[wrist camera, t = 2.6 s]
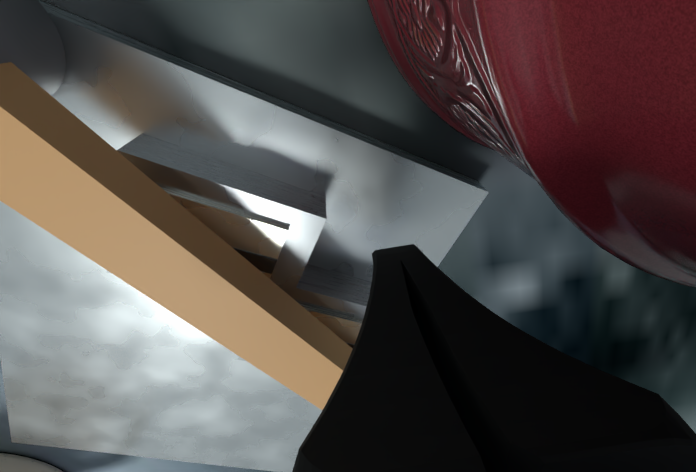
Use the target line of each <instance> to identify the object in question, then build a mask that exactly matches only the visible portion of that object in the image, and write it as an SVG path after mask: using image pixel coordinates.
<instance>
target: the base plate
mask: <svg viewBox="0 0 696 472" xmlns="http://www.w3.org/2000/svg"><path fill="white" fill-rule="evenodd" d="M38 1H39V2H40V4H41V5H42V6H43V7H44V8H45V10H46V11H47V13H48V14H49V16H50V17H51V19H52V21H53V22H54V24H55V26H56V28H57V30H58V32H59V34H60V37H61V40H62V43H63V46H64V50H65V55H66V71H65V75H64V79H63V81H62V84H61V86H60V87H59V88H58V90H57V91H56V92H55V93H54V94H53V95H51V96H52V97H53V98H55V99H56V100H57V101H58V102H59V103H61V104H62V105H63V106H64V107H65V108H67V109H68V110H69V111H70V112H71V113H72V114H74V115H75V116H76V117H77V118H78V119H80V120H81V121H82V122H83V123H84V124H86V125H87V126H88V127H89V128H90V129H92V130H93V131H94V132H95V133H96V134H97V135H99V136H100V137H101V138H102V139H103V140H105V141H106V142H107V143H108V144H109V145H111V146H112V147H113V148H114V149H115V150H117V151H118V152H119V153H120V154H121V155H123V156H124V157H125V158H126V159H127V160H128V161H130V162H131V163H132V164H133V165H134V166H136V167H137V168H138V169H139V170H140V171H142V172H143V173H144V174H145V175H146V176H148V177H149V178H150V179H151V180H152V181H154V182H155V183H156V184H157V185H158V186H159V187H161V188H162V189H163V190H164V191H165V192H167V193H168V194H169V195H170V196H171V197H173V198H174V199H175V200H176V201H177V202H179V203H180V204H181V205H182V206H183V207H185V208H186V209H187V210H188V211H189V212H190V213H192V214H193V215H194V216H195V217H196V218H198V219H199V220H200V221H201V222H202V223H204V224H205V225H206V226H207V227H208V228H210V229H211V230H212V231H213V232H214V233H215V234H217V235H218V236H219V237H220V238H221V239H223V240H224V241H225V242H226V243H227V244H229V245H230V246H231V247H232V248H233V249H235V250H236V251H237V252H238V253H239V254H241V255H242V256H243V257H244V258H245V259H246V260H248V261H249V262H250V263H251V264H252V265H254V266H255V267H256V268H257V269H258V270H260V271H261V272H262V273H263V274H264V275H266V276H267V277H268V278H269V279H270V280H272V281H273V282H274V283H275V284H276V285H277V286H279V287H280V288H281V289H282V290H283V291H285V292H286V293H287V294H288V295H289V296H291V297H292V298H293V299H294V300H295V301H297V302H298V303H299V304H300V305H301V306H302V307H304V308H305V309H306V310H307V311H308V312H310V313H311V314H312V315H313V316H314V317H316V318H317V319H318V320H319V321H320V322H322V323H323V324H324V325H325V326H326V327H328V328H329V329H330V330H331V331H332V332H333V333H335V334H336V335H337V336H338V337H339V338H341V339H342V340H343V341H344V342H345V343H347V344H348V345H349V346H350V347H351V348H353V347H354V344H355V342H356V339H357V336H358V334H359V331H360V328H361V325H362V321H363V318H364V314H365V311H366V307H367V303H368V299H369V294H370V288H371V283H372V275H373V259H372V253H373V252H374V251H375V250H379V249H385V248H391V247H398V246H404V245H410V244H414V245H415V246H417V247H418V248H419V249H420V250H421V251H422V252H423V253H424V255H425V256H426V257H427V258H428V259H429V260H430V261H431V262H432V263H434V264H435V265H436V266H437V267H438V266H439V264H440V263H441V261H442V260H443V258H444V257H445V255H446V254H447V252H448V251H449V250H450V248H451V247H452V245H453V244H454V242H455V241H456V239H457V238H458V236H459V235H460V233H461V232H462V231H463V229H464V228H465V226H466V225H467V223H468V222H469V220H470V219H471V217H472V216H473V215H474V213H475V212H476V210H477V209H478V207H479V206H480V204H481V203H482V201H483V200H484V198H485V197H486V196H487V194H488V193H489V192H488V191H487V190H486V189H485V188H484V187H483V186H482V185H481V184H480V183H479V182H478V181H476V180H474V179H471V178H469V177H466V176H464V175H461V174H459V173H457V172H454V171H452V170H449V169H447V168H445V167H442V166H440V165H437V164H435V163H432V162H430V161H428V160H425V159H423V158H420V157H418V156H415V155H413V154H411V153H408V152H406V151H403V150H401V149H399V148H396V147H394V146H391V145H389V144H386V143H384V142H382V141H379V140H377V139H374V138H372V137H370V136H367V135H365V134H362V133H360V132H357V131H355V130H353V129H350V128H348V127H345V126H343V125H341V124H338V123H336V122H333V121H331V120H328V119H326V118H324V117H321V116H319V115H316V114H314V113H311V112H309V111H307V110H304V109H302V108H299V107H297V106H295V105H292V104H290V103H287V102H285V101H282V100H280V99H278V98H275V97H273V96H270V95H268V94H266V93H263V92H261V91H258V90H256V89H253V88H251V87H249V86H246V85H244V84H241V83H239V82H237V81H234V80H232V79H229V78H227V77H224V76H222V75H220V74H217V73H215V72H212V71H210V70H208V69H205V68H203V67H200V66H198V65H195V64H193V63H191V62H188V61H186V60H183V59H181V58H178V57H176V56H174V55H171V54H169V53H166V52H164V51H162V50H159V49H157V48H154V47H152V46H149V45H147V44H145V43H142V42H140V41H137V40H135V39H133V38H130V37H128V36H125V35H123V34H120V33H118V32H116V31H113V30H111V29H108V28H106V27H104V26H101V25H99V24H96V23H94V22H91V21H89V20H87V19H84V18H82V17H79V16H77V15H74V14H72V13H70V12H67V11H65V10H62V9H60V8H58V7H55V6H53V5H50V4H48V3H45V2H43V1H41V0H38ZM0 358H1V365H2V373H3V381H4V388H5V396H6V403H7V411H8V419H9V426H10V434H11V442H12V443H21V444H30V445H39V446H48V447H57V448H66V449H75V450H84V451H93V452H102V453H112V454H121V455H130V456H139V457H148V458H157V459H166V460H175V461H184V462H193V463H202V464H212V465H221V466H230V467H239V468H248V469H257V470H266V471H275V472H292V471H293V467H294V464H295V460H296V457H297V454H298V450H299V448H300V446H301V444H302V443H303V441H304V440H305V438H306V436H307V435H308V433H309V432H310V430H311V428H312V427H313V425H314V423H315V422H316V420H317V419H318V417H319V415H320V414H321V412H322V410H321V409H319V408H318V407H316V406H315V405H313V404H312V403H310V402H309V401H307V400H306V399H304V398H303V397H301V396H299V395H298V394H296V393H295V392H293V391H292V390H290V389H289V388H287V387H286V386H284V385H283V384H281V383H280V382H278V381H276V380H275V379H273V378H272V377H270V376H269V375H267V374H266V373H264V372H263V371H261V370H260V369H258V368H256V367H255V366H253V365H252V364H250V363H249V362H247V361H246V360H244V359H243V358H241V357H240V356H238V355H236V354H235V353H233V352H232V351H230V350H229V349H227V348H226V347H224V346H223V345H221V344H220V343H218V342H216V341H215V340H213V339H212V338H210V337H209V336H207V335H206V334H204V333H203V332H201V331H200V330H198V329H197V328H195V327H193V326H192V325H190V324H189V323H187V322H186V321H184V320H183V319H181V318H180V317H178V316H177V315H175V314H173V313H172V312H170V311H169V310H167V309H166V308H164V307H163V306H161V305H160V304H158V303H157V302H155V301H153V300H152V299H150V298H149V297H147V296H146V295H144V294H143V293H141V292H140V291H138V290H137V289H135V288H134V287H132V286H130V285H129V284H127V283H126V282H124V281H123V280H121V279H120V278H118V277H117V276H115V275H114V274H112V273H110V272H109V271H107V270H106V269H104V268H103V267H101V266H100V265H98V264H97V263H95V262H94V261H92V260H90V259H89V258H87V257H86V256H84V255H83V254H81V253H80V252H78V251H77V250H75V249H74V248H72V247H71V246H69V245H67V244H66V243H64V242H63V241H61V240H60V239H58V238H57V237H55V236H54V235H52V234H51V233H49V232H47V231H46V230H44V229H43V228H41V227H40V226H38V225H37V224H35V223H34V222H32V221H31V220H29V219H27V218H26V217H24V216H23V215H21V214H20V213H18V212H17V211H15V210H14V209H12V208H11V207H9V206H8V205H6V204H4V203H3V202H1V201H0Z"/></svg>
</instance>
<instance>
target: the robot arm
mask: <svg viewBox="0 0 696 472" xmlns="http://www.w3.org/2000/svg"><path fill="white" fill-rule="evenodd" d="M372 259H373V275H372V283H371V288H370V294H369V299H368V303H367V307H366V311H365V314H364V318H363V321H362V325H361V328H360V331H359V334H358V336H357V339H356V342H355V344H354V347H353V349H352V352H351V354H350V357H349V359H348V361H347V364H346V366H345V368H344V370H343V372H342V374H341V377H340V379H339V380H338V382H337V384H336V386H335V388H334V390H333V392H332V394H331V396H330V398H329V399H328V401H327V403H326V405H325V407H324V409H323V410H322V412H321V414H320V415H319V417H318V419H317V420H316V422H315V423H314V425H313V427H312V428H311V430H310V432H309V433H308V435H307V436H306V438H305V440H304V441H303V443H302V444H301V446H300V448H299V450H298V454H297V457H296V460H295V464H294V467H293V471H292V472H696V434H695V432H694V431H693V430H692V429H691V428H690V427H689V426H688V424H687V423H686V422H685V421H684V420H683V419H682V418H681V416H680V415H679V414H678V413H677V412H676V411H675V410H674V409H673V408H672V407H671V406H670V405H669V404H668V403H667V402H666V401H665V400H664V399H663V398H662V397H661V396H660V395H659V394H656V393H654V392H652V391H649V390H647V389H644V388H642V387H639V386H637V385H635V384H632V383H630V382H627V381H625V380H622V379H620V378H618V377H615V376H613V375H610V374H608V373H605V372H603V371H601V370H598V369H596V368H594V367H592V366H590V365H588V364H585V363H583V362H581V361H579V360H577V359H575V358H573V357H571V356H568V355H566V354H564V353H562V352H560V351H558V350H557V349H555V348H553V347H551V346H549V345H547V344H545V343H543V342H542V341H540V340H538V339H536V338H534V337H532V336H531V335H529V334H527V333H525V332H523V331H522V330H520V329H518V328H517V327H515V326H513V325H512V324H510V323H508V322H507V321H505V320H504V319H502V318H501V317H499V316H498V315H496V314H495V313H493V312H492V311H490V310H489V309H488V308H486V307H485V306H483V305H482V304H481V303H479V302H478V301H477V300H475V299H474V298H473V297H472V296H470V295H469V294H468V293H466V292H465V291H464V290H463V289H462V288H460V287H459V286H458V285H457V284H456V283H454V282H453V281H452V280H451V279H450V278H449V277H448V276H446V275H445V274H444V273H443V272H442V271H441V270H440V269H439V268H438V267H437V266H436V265H435V264H434V263H432V262H431V261H430V260H429V259H428V258H427V257H426V256H425V255H424V253H423V252H422V251H421V250H420V249H419V248H418V247H417V246H415V245H414V244H410V245H404V246H398V247H391V248H385V249H379V250H375V251H374V252H373V253H372Z"/></svg>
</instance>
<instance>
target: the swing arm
mask: <svg viewBox="0 0 696 472" xmlns="http://www.w3.org/2000/svg"><path fill="white" fill-rule="evenodd" d="M65 71H66V55H65V50H64V46H63V43H62V40H61V37H60V34H59V32H58V30H57V28H56V26H55V24H54V22H53V21H52V19H51V17H50V16H49V14H48V13H47V11H46V10H45V8H44V7H43V6H42V5H41V4H40V2H39V1H38V0H0V201H1V202H3V203H4V204H6V205H8V206H9V207H11V208H12V209H14V210H15V211H17V212H18V213H20V214H21V215H23V216H24V217H26V218H27V219H29V220H31V221H32V222H34V223H35V224H37V225H38V226H40V227H41V228H43V229H44V230H46V231H47V232H49V233H51V234H52V235H54V236H55V237H57V238H58V239H60V240H61V241H63V242H64V243H66V244H67V245H69V246H71V247H72V248H74V249H75V250H77V251H78V252H80V253H81V254H83V255H84V256H86V257H87V258H89V259H90V260H92V261H94V262H95V263H97V264H98V265H100V266H101V267H103V268H104V269H106V270H107V271H109V272H110V273H112V274H114V275H115V276H117V277H118V278H120V279H121V280H123V281H124V282H126V283H127V284H129V285H130V286H132V287H134V288H135V289H137V290H138V291H140V292H141V293H143V294H144V295H146V296H147V297H149V298H150V299H152V300H153V301H155V302H157V303H158V304H160V305H161V306H163V307H164V308H166V309H167V310H169V311H170V312H172V313H173V314H175V315H177V316H178V317H180V318H181V319H183V320H184V321H186V322H187V323H189V324H190V325H192V326H193V327H195V328H197V329H198V330H200V331H201V332H203V333H204V334H206V335H207V336H209V337H210V338H212V339H213V340H215V341H216V342H218V343H220V344H221V345H223V346H224V347H226V348H227V349H229V350H230V351H232V352H233V353H235V354H236V355H238V356H240V357H241V358H243V359H244V360H246V361H247V362H249V363H250V364H252V365H253V366H255V367H256V368H258V369H260V370H261V371H263V372H264V373H266V374H267V375H269V376H270V377H272V378H273V379H275V380H276V381H278V382H280V383H281V384H283V385H284V386H286V387H287V388H289V389H290V390H292V391H293V392H295V393H296V394H298V395H299V396H301V397H303V398H304V399H306V400H307V401H309V402H310V403H312V404H313V405H315V406H316V407H318V408H319V409H321V410H323V409H324V407H325V405H326V403H327V401H328V399H329V398H330V396H331V394H332V392H333V390H334V388H335V386H336V384H337V382H338V380H339V379H340V377H341V374H342V372H343V370H344V368H345V366H346V364H347V361H348V359H349V357H350V354H351V352H352V349H353V348H351V347H350V346H349V345H348V344H347V343H345V342H344V341H343V340H342V339H341V338H339V337H338V336H337V335H336V334H335V333H333V332H332V331H331V330H330V329H329V328H328V327H326V326H325V325H324V324H323V323H322V322H320V321H319V320H318V319H317V318H316V317H314V316H313V315H312V314H311V313H310V312H308V311H307V310H306V309H305V308H304V307H302V306H301V305H300V304H299V303H298V302H297V301H295V300H294V299H293V298H292V297H291V296H289V295H288V294H287V293H286V292H285V291H283V290H282V289H281V288H280V287H279V286H277V285H276V284H275V283H274V282H273V281H272V280H270V279H269V278H268V277H267V276H266V275H264V274H263V273H262V272H261V271H260V270H258V269H257V268H256V267H255V266H254V265H252V264H251V263H250V262H249V261H248V260H246V259H245V258H244V257H243V256H242V255H241V254H239V253H238V252H237V251H236V250H235V249H233V248H232V247H231V246H230V245H229V244H227V243H226V242H225V241H224V240H223V239H221V238H220V237H219V236H218V235H217V234H215V233H214V232H213V231H212V230H211V229H210V228H208V227H207V226H206V225H205V224H204V223H202V222H201V221H200V220H199V219H198V218H196V217H195V216H194V215H193V214H192V213H190V212H189V211H188V210H187V209H186V208H185V207H183V206H182V205H181V204H180V203H179V202H177V201H176V200H175V199H174V198H173V197H171V196H170V195H169V194H168V193H167V192H165V191H164V190H163V189H162V188H161V187H159V186H158V185H157V184H156V183H155V182H154V181H152V180H151V179H150V178H149V177H148V176H146V175H145V174H144V173H143V172H142V171H140V170H139V169H138V168H137V167H136V166H134V165H133V164H132V163H131V162H130V161H128V160H127V159H126V158H125V157H124V156H123V155H121V154H120V153H119V152H118V151H117V150H115V149H114V148H113V147H112V146H111V145H109V144H108V143H107V142H106V141H105V140H103V139H102V138H101V137H100V136H99V135H97V134H96V133H95V132H94V131H93V130H92V129H90V128H89V127H88V126H87V125H86V124H84V123H83V122H82V121H81V120H80V119H78V118H77V117H76V116H75V115H74V114H72V113H71V112H70V111H69V110H68V109H67V108H65V107H64V106H63V105H62V104H61V103H59V102H58V101H57V100H56V99H55V98H53V97H52V96H51V95H53V94H54V93H55V92H56V91H57V90H58V88H59V87H60V86H61V84H62V81H63V79H64V75H65Z"/></svg>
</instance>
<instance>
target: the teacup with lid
mask: <svg viewBox="0 0 696 472" xmlns="http://www.w3.org/2000/svg"><path fill="white" fill-rule="evenodd" d="M0 472H63V471H61V470H60V469H58V468H56V467H54V466H52V465H49V464H47V463H44V462H41V461H38V460H35V459H32V458H28V457H23V456H18V455H13V454H6V453H0Z"/></svg>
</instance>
